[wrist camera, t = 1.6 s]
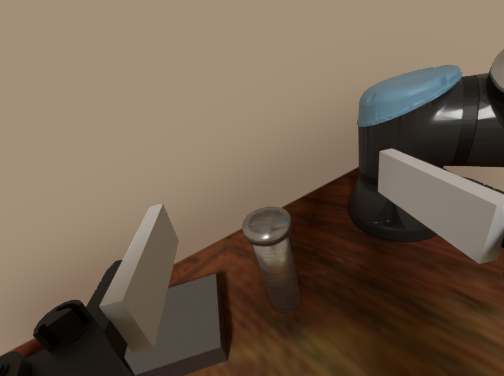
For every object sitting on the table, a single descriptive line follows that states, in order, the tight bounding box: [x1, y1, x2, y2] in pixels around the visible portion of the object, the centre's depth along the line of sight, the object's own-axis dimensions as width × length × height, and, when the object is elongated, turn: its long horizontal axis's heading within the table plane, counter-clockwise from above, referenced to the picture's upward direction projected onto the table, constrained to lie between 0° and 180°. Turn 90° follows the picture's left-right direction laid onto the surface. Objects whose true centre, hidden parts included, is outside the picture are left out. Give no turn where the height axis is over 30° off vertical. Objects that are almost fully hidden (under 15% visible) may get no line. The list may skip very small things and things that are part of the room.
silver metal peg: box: [242, 207, 301, 313], centre depth 31 cm, size 6×6×14 cm
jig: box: [125, 274, 228, 376], centre depth 32 cm, size 22×11×3 cm, turn 101°
